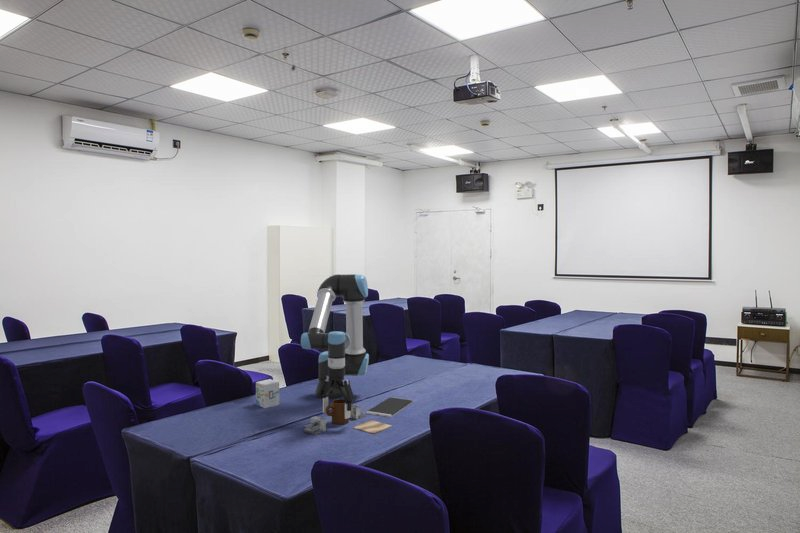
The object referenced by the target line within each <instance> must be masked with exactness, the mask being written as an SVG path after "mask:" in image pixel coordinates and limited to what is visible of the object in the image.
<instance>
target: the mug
mask: <svg viewBox="0 0 800 533" xmlns="http://www.w3.org/2000/svg"><path fill="white" fill-rule="evenodd" d="M345 403H346V401H345V399H344V398H338V399H337V398H336V399H334V400H331V404H328V406H327V407H326V413H325V415H326V416H328V417H331V423H332V424H334V425H337V426H338V425H345V424H348V423H349V419H350V418H347V419H345ZM330 409H331V411H330Z"/></svg>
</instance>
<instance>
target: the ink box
mask: <svg viewBox="0 0 800 533" xmlns="http://www.w3.org/2000/svg"><path fill="white" fill-rule="evenodd" d="M279 405H280V381H278V380H274V379H272V378H271V379H270V378H269V379H264V380H260V381H256V382H255V406H258V407H261V408H263V409H266V408H272V407H276V406H279Z"/></svg>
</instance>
